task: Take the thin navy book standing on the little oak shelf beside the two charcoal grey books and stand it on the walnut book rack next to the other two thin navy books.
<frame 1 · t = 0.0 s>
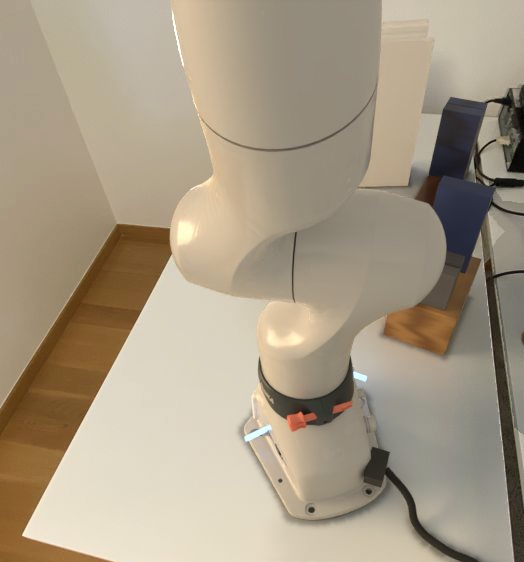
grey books: (433, 278, 71), on the oak shelf, point 13 cm above the table
book rack: (439, 192, 102), on the table
navy book: (454, 227, 73), on the oak shelf, point 16 cm above the table
oak shelf: (432, 300, 86), on the table
block: (323, 177, 109), on the table
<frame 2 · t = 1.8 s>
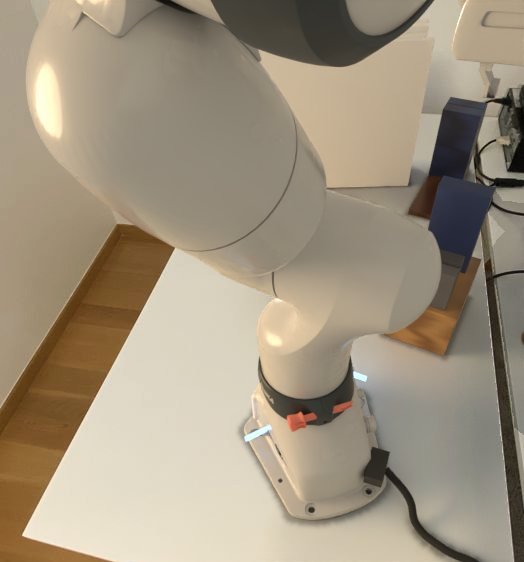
nothing on the table moved.
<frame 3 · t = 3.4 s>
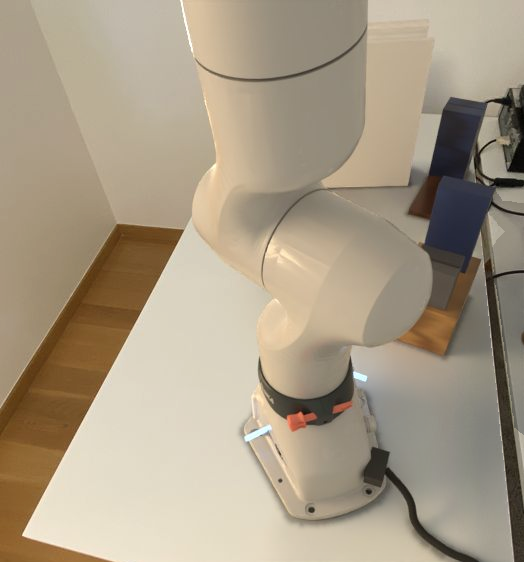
nothing on the table moved.
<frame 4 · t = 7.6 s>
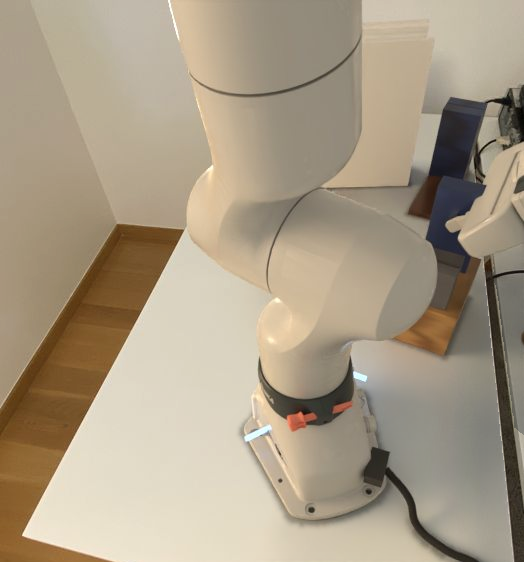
hand: (452, 217, 72), 17 cm above the table, tool tilted 45°, fingers closed on navy book, 2 cm apart
navy book: (454, 227, 73), on the oak shelf, point 16 cm above the table, touching gripper
everything else where it was.
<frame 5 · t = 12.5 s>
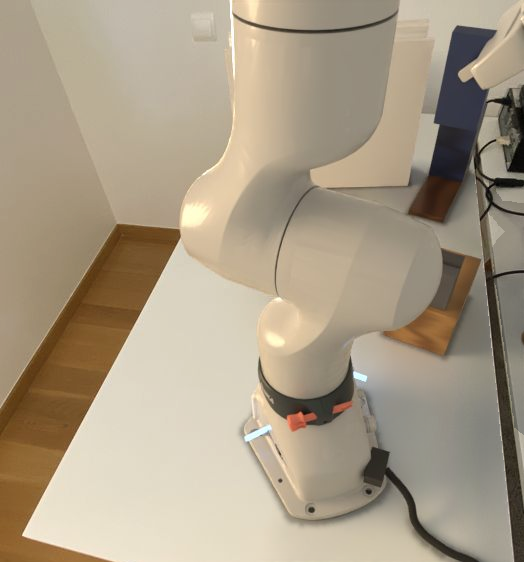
hand: (464, 70, 77), 27 cm above the table, tool tilted 45°, fingers closed on navy book, 2 cm apart
navy book: (466, 81, 78), point 26 cm above the table, touching gripper
everything else where it was.
when the fingers open (9 cm above the table, at t = 17.7 s): navy book stays where it is, resting on book rack.
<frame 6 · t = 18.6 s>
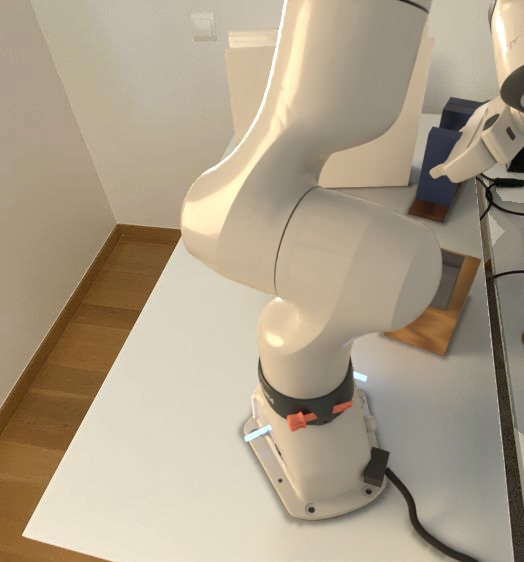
hand: (440, 159, 93), 10 cm above the table, tool tilted 45°, fingers open, 8 cm apart
navy book: (441, 168, 94), point 8 cm above the table, touching book rack
everything else where it was.
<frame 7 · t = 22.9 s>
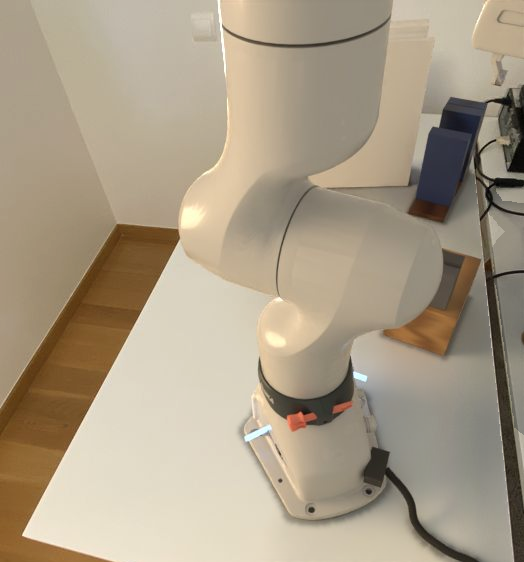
nothing on the table moved.
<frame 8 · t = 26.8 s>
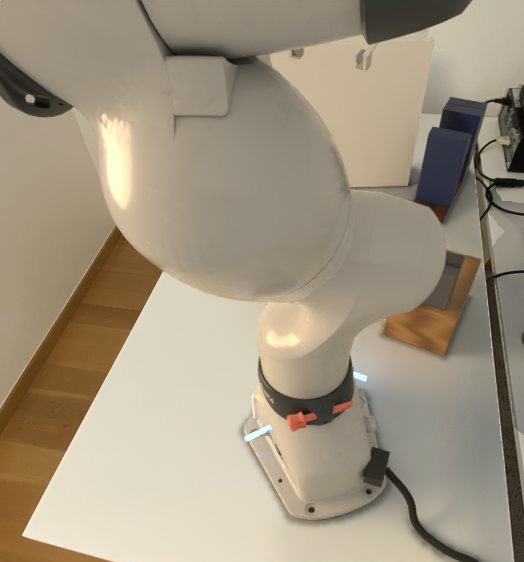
hand: (328, 62, 65), 35 cm above the table, tool pointing down, fingers open, 8 cm apart
nothing on the table moved.
at the end: navy book 0.1 cm from the target spot on the book rack, point 8.0 cm above the book rack's base; navy book tilted 0°; navy book moved 27.4 cm from its start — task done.
